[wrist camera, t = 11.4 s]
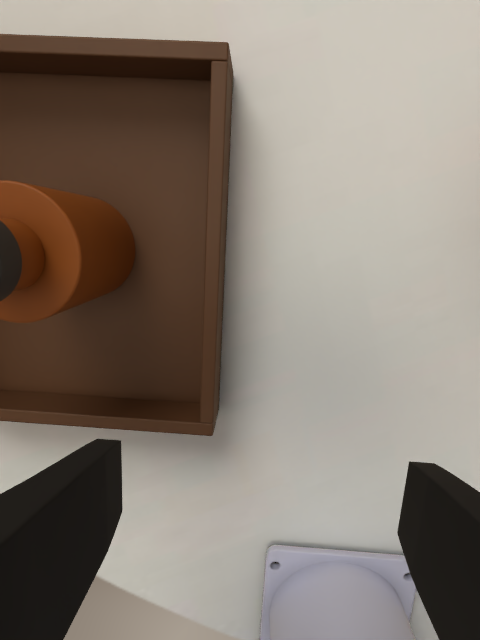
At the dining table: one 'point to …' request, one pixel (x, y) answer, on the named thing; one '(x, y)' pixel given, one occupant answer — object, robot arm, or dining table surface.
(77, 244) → the bottle
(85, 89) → the tray
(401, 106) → the dining table surface
